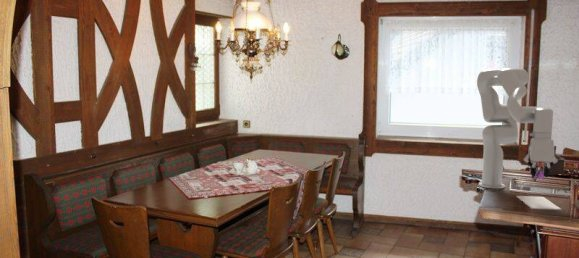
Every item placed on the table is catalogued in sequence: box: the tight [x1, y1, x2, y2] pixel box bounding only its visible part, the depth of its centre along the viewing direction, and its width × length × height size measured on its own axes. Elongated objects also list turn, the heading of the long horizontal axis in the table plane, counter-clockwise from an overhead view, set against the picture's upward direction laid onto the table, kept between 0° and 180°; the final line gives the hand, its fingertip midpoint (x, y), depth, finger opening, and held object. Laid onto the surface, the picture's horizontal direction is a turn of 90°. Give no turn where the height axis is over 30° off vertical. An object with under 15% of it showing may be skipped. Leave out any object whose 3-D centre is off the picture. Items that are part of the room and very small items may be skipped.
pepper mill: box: [542, 145, 565, 176], centre depth 309 cm, size 16×11×18 cm
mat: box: [516, 195, 562, 211], centre depth 239 cm, size 22×12×1 cm, turn 173°
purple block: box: [531, 163, 545, 182], centre depth 239 cm, size 7×5×9 cm
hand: (539, 175), depth 237 cm, fingers closed on purple block, 4 cm apart
